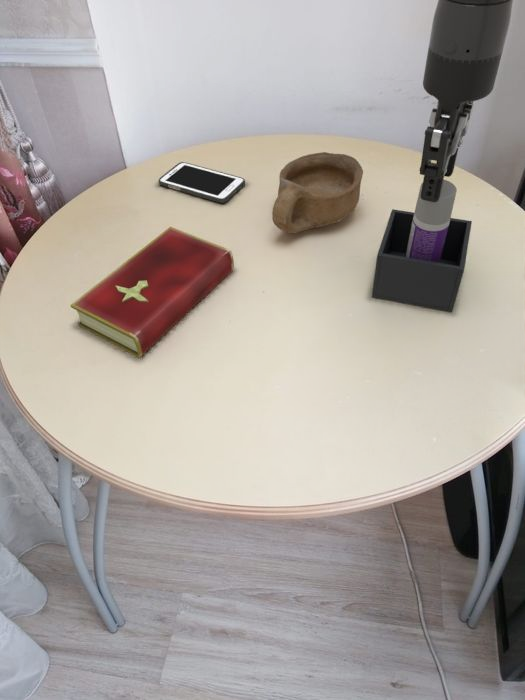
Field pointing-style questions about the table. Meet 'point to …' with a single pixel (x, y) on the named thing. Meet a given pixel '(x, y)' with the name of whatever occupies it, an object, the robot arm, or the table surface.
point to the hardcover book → (153, 290)
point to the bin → (420, 266)
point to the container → (431, 225)
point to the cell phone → (202, 182)
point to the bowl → (316, 191)
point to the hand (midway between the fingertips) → (436, 186)
